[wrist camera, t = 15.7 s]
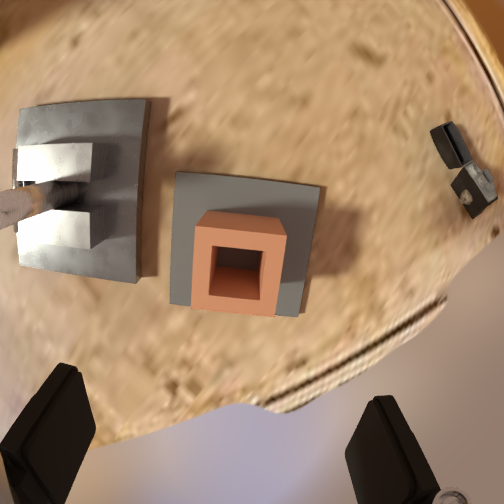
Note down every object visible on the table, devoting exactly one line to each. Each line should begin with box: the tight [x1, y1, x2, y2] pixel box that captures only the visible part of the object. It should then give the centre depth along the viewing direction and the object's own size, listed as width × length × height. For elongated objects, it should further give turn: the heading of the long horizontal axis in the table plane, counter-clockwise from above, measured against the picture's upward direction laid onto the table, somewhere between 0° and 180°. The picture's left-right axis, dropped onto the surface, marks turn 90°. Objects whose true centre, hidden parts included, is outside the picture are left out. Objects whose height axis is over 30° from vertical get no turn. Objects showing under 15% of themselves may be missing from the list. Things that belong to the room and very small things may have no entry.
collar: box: [191, 210, 287, 317], centre depth 24 cm, size 6×6×6 cm
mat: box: [170, 172, 320, 317], centre depth 28 cm, size 12×12×1 cm
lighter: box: [430, 121, 498, 219], centre depth 24 cm, size 9×2×6 cm
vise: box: [0, 99, 151, 284], centre depth 21 cm, size 16×14×12 cm
